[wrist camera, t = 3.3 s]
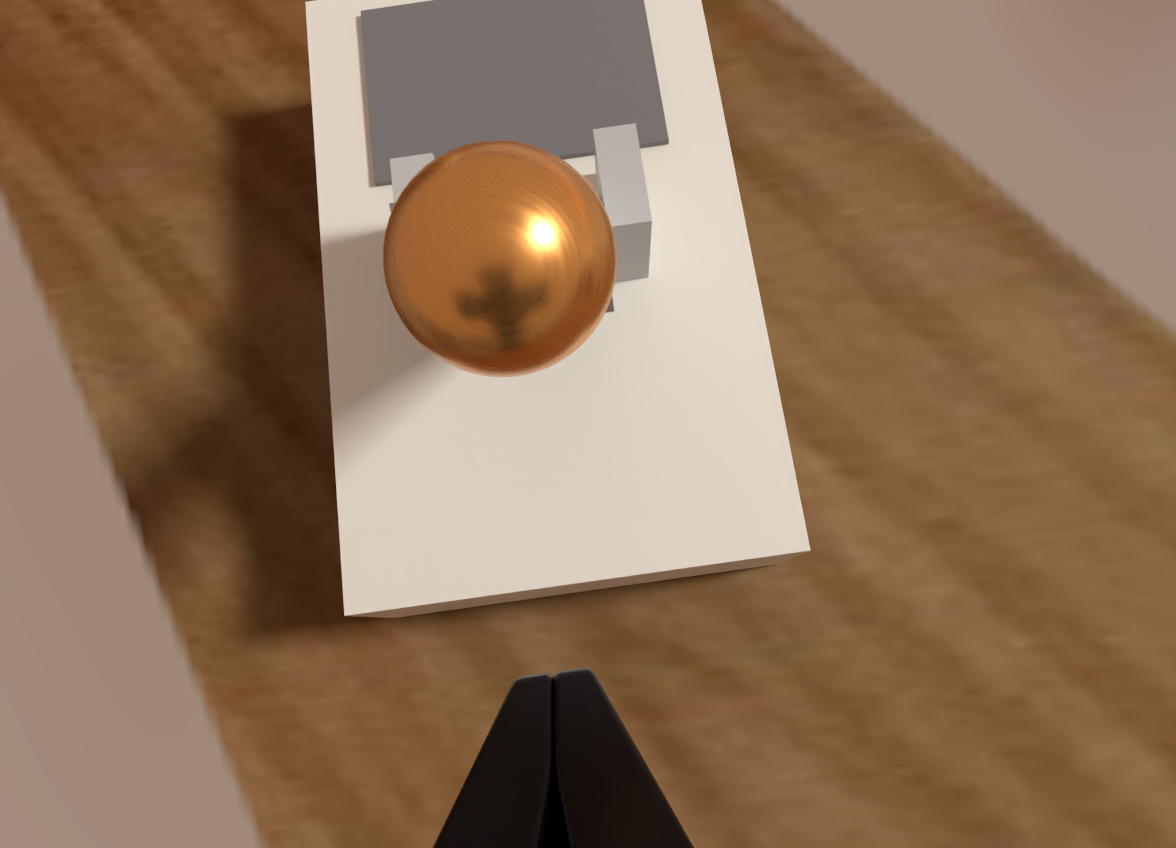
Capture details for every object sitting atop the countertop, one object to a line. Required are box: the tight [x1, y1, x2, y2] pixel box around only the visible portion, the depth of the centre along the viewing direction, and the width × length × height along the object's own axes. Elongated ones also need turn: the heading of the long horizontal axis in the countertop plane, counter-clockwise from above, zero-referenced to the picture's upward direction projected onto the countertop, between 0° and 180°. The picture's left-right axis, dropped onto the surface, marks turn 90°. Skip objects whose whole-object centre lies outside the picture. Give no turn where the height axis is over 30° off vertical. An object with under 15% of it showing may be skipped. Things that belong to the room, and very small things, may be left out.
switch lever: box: [383, 140, 617, 377], centre depth 13 cm, size 3×3×10 cm
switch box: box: [305, 0, 810, 618], centre depth 18 cm, size 14×9×6 cm, turn 8°
